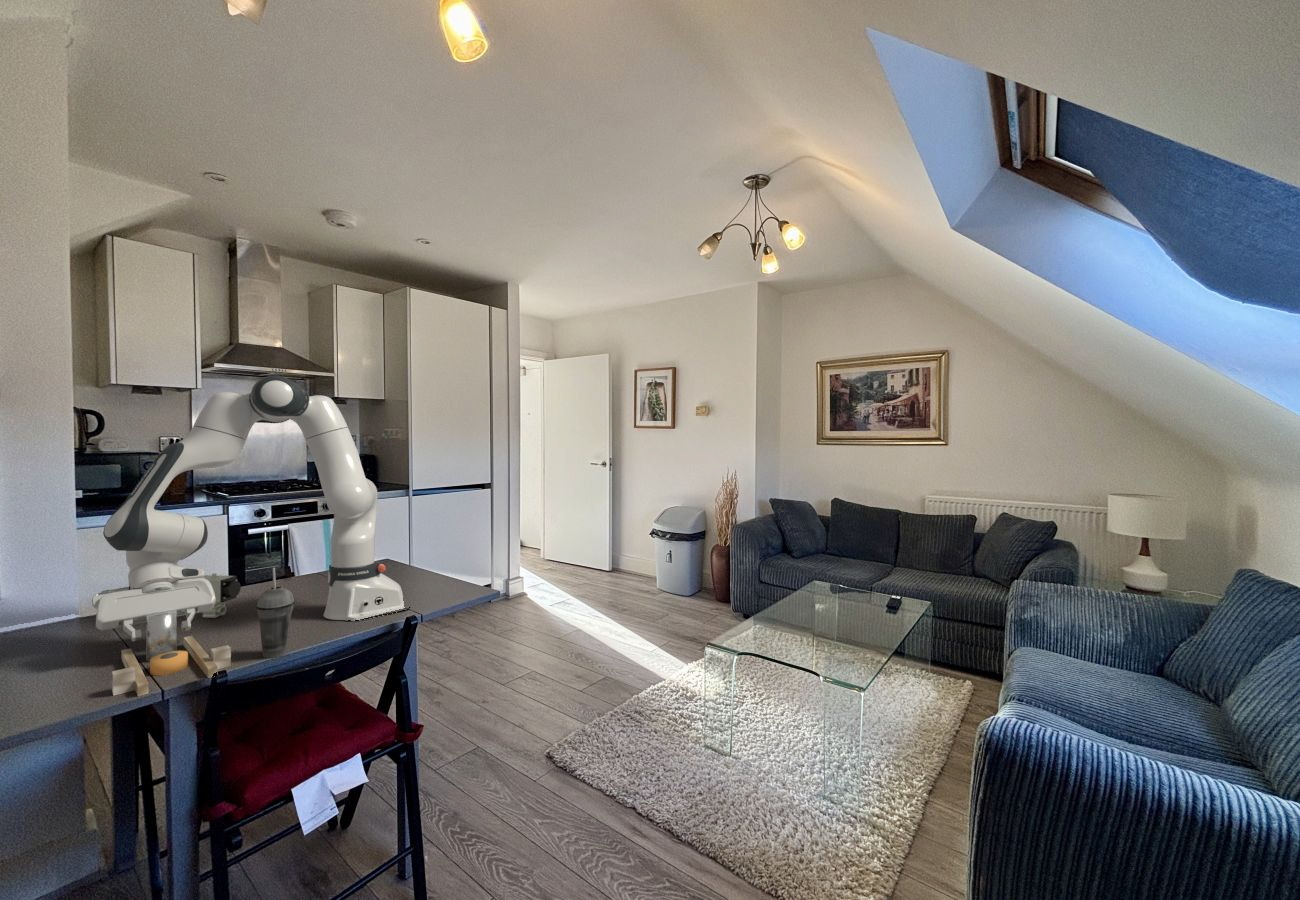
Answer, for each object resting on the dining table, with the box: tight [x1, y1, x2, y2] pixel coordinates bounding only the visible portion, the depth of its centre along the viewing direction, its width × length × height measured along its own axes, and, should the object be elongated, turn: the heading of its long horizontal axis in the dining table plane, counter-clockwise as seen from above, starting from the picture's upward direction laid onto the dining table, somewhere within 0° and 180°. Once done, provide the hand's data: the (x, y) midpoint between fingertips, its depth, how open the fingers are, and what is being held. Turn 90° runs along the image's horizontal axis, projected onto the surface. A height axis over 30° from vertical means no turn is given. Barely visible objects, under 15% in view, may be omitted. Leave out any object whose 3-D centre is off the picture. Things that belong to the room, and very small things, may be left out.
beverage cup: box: [255, 567, 295, 659], centre depth 121 cm, size 7×7×20 cm
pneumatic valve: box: [201, 573, 242, 619], centre depth 146 cm, size 6×12×12 cm, turn 89°
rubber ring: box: [149, 650, 189, 677], centre depth 112 cm, size 6×6×3 cm
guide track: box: [111, 635, 232, 697], centre depth 113 cm, size 18×26×4 cm
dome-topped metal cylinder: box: [145, 610, 178, 663], centre depth 118 cm, size 5×5×10 cm
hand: (162, 634), depth 118 cm, fingers open, 7 cm apart
